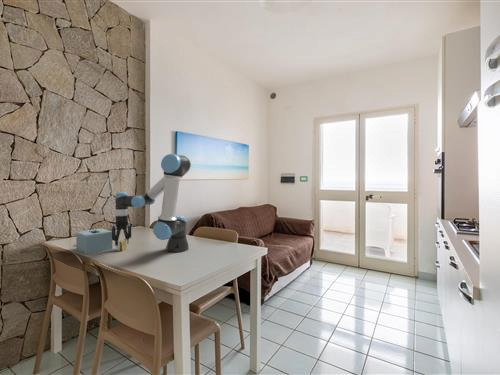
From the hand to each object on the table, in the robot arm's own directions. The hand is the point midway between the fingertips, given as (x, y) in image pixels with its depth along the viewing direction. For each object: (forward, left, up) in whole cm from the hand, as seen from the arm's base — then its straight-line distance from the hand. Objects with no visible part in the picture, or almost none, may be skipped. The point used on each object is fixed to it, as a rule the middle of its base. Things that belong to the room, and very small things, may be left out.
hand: (121, 249), depth 176 cm
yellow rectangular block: (0, 0, 0) cm, 0 cm away
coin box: (+15, +11, 0) cm, 19 cm away
